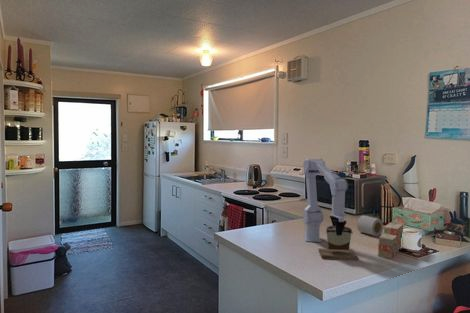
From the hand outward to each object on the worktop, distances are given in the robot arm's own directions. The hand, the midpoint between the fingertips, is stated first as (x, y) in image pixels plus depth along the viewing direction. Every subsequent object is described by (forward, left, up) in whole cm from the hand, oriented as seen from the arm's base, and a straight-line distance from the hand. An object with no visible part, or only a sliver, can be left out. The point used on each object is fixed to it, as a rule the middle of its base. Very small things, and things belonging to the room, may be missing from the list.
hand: (337, 233), depth 159 cm
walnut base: (+1, 0, -10) cm, 10 cm away
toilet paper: (-37, +27, -11) cm, 47 cm away
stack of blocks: (-7, +28, -11) cm, 31 cm away
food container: (0, 0, -7) cm, 7 cm away
